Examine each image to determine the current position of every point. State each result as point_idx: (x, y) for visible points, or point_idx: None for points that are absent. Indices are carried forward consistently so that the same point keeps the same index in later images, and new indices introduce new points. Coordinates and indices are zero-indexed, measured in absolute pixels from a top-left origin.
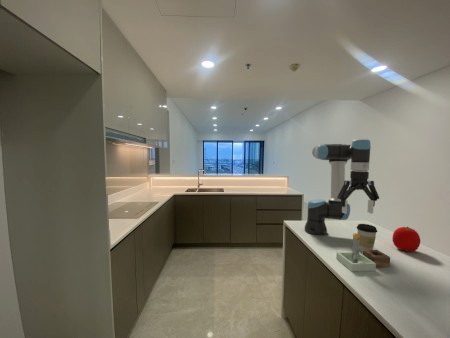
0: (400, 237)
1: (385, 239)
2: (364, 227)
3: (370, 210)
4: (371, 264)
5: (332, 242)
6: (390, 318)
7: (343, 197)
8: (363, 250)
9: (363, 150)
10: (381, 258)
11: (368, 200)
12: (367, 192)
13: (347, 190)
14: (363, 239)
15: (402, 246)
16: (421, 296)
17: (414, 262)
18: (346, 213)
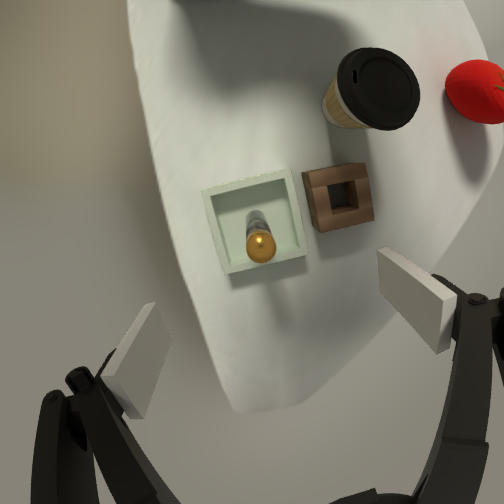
0: (472, 99)
1: (438, 29)
2: (366, 104)
3: (389, 288)
4: (292, 257)
5: (241, 48)
6: (235, 397)
7: (97, 407)
8: (309, 175)
9: None
10: (343, 226)
11: (437, 300)
12: (434, 440)
13: (109, 484)
14: (341, 116)
15: (457, 107)
16: (340, 335)
17: (440, 174)
18: (169, 342)
